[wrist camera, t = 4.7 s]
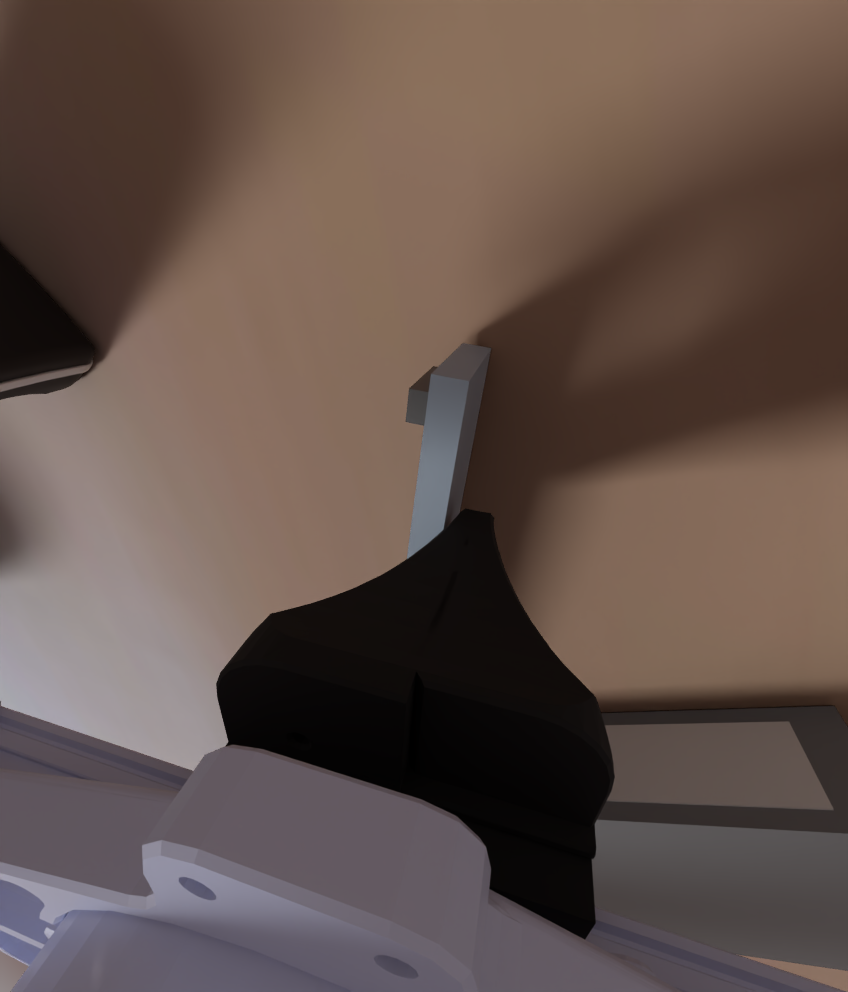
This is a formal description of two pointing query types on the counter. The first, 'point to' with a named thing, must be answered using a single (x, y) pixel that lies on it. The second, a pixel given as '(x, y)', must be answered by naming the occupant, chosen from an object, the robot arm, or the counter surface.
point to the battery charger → (36, 337)
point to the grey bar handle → (445, 438)
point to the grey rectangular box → (730, 829)
